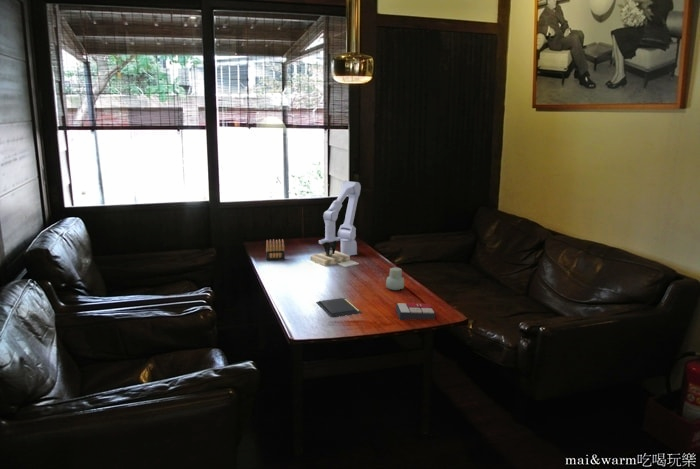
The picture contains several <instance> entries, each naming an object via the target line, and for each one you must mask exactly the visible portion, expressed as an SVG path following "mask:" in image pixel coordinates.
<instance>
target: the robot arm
mask: <svg viewBox="0 0 700 469" xmlns="http://www.w3.org/2000/svg"><path fill="white" fill-rule="evenodd" d="M361 187H362V186H361V183H360V182H358V181H348V180H344V181H343V182H342V184H341V191H339V192H340V193H339V194H338V197H337V198H336V199H335V200H333V201H332V203H331V204H330V206H329V208H328V209H327V210H325V211H324V212H323V215H322V217H323V221H324V225H325V226H324V228H325V230H324V232H325V233H324V236H325V237H324V238H322V239H319V240H318V244H320V245H322V246H323V248H324V251H325V252H324V253H326V255H329V250H330V246H332V247H333V254H334V252H335V251H336V248H337V246H338V245H339V241H340V251H339V252H340V253H343V254H346V255H349V256H350V257H351V256H355V255H358V253H357V252H358V246H357V244H358V243H357V241H356V236H357V234H356V233H357V232H356V230H357V228H356V227H355V225H354V219H355V215H356V211H357V204H358V200H359V197H360V195H361V189H362V188H361ZM347 197H348V203H347V207H346V212H345V218H344V220H343V224H340V226H339V229H338V231H337V236H336V222H337V220H338V217H339V216H338V215H339V212H340V211H341V208H342V207H343V204H342V203H343V202H344V200H345V199H346V198H347Z"/></svg>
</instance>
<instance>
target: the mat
mask: <svg viewBox="0 0 700 469" xmlns="http://www.w3.org/2000/svg"><path fill="white" fill-rule="evenodd" d="M337 265H338V266H341V267H343V268H348V267H353V266H357V265H360V262H357V261H354V260H351V259H350V261H346V262H342V263H337Z"/></svg>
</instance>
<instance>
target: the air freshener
mask: <svg viewBox="0 0 700 469" xmlns="http://www.w3.org/2000/svg"><path fill="white" fill-rule="evenodd" d="M402 271H403V269H402V268H400V267H391V268H389V276H387V277H386V282H385V287H386V288H387V289H389V290H392V291H399V290H400V289H401V290H403V289H404V287H405V278H404V277H402V276H403V274H402Z"/></svg>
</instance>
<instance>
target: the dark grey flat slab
mask: <svg viewBox="0 0 700 469" xmlns="http://www.w3.org/2000/svg"><path fill="white" fill-rule="evenodd" d="M315 303H316V304H317V305H318V307H320V309H322V310H323V311H324V312H325V313H326V315H327V316H328V317H330V318H339V316H340V317H346V316H345V315H347V316H353V315H352V314H354V315H358V313H360V314H363V312H362V310H361V309H359V308H357V307H356V306H355V305H354V304H353V303H352V302H350V301H349V299H347V298H346V297H345V298H343V297H339V298H332V299H325V300H318V301H316V302H315Z"/></svg>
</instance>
